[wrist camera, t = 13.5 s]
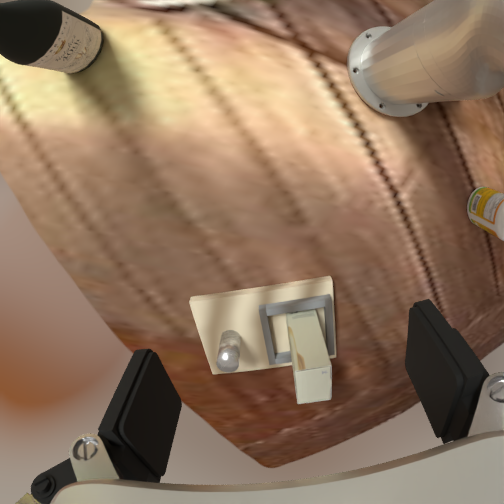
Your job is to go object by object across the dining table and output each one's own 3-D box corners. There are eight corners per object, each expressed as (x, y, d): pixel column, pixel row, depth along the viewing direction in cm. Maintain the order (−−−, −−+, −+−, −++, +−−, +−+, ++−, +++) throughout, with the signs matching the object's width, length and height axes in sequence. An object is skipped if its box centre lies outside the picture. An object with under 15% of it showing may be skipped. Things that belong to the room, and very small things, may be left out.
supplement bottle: (495, 215, 40) (540, 239, 29) (469, 231, 41) (513, 259, 30) (489, 180, 38) (537, 197, 27) (462, 194, 39) (509, 216, 28)
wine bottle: (117, 37, 32) (-52, -36, 4) (81, 84, 34) (-106, 73, 6) (82, 14, 30) (-73, -47, 2) (50, 59, 32) (-119, 41, 4)
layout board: (330, 275, 44) (334, 285, 41) (334, 351, 49) (338, 363, 46) (191, 296, 45) (187, 307, 43) (213, 368, 50) (211, 380, 48)
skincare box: (285, 310, 44) (293, 369, 33) (315, 306, 44) (332, 363, 33) (289, 346, 47) (296, 405, 35) (317, 342, 46) (332, 400, 35)
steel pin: (238, 328, 46) (236, 355, 40) (242, 344, 47) (241, 371, 41) (218, 331, 46) (214, 357, 40) (223, 346, 47) (219, 373, 41)
